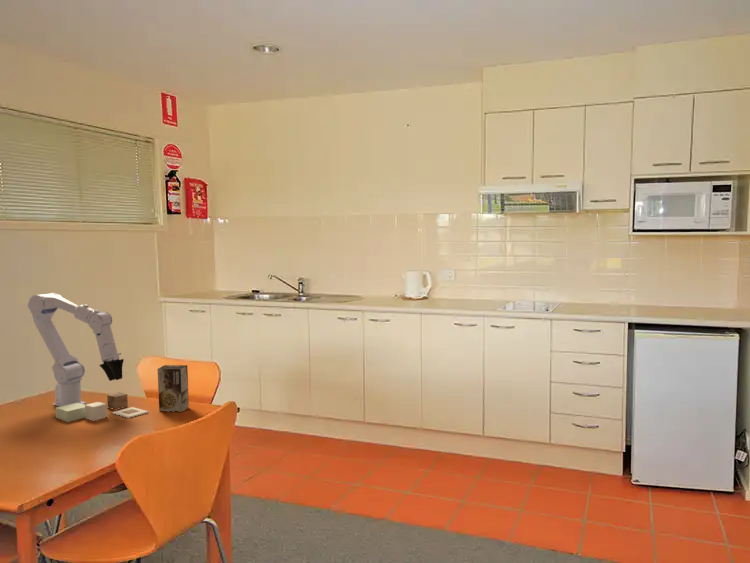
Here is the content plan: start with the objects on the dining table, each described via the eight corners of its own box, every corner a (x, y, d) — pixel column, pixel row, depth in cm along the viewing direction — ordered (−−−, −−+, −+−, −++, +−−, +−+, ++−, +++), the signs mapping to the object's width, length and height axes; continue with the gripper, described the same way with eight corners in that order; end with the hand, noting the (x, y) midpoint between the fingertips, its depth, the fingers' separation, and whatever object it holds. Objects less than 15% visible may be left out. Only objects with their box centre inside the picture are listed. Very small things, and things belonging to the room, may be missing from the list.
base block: (55, 418, 209) (55, 407, 209) (78, 413, 216) (77, 402, 215) (67, 422, 205) (67, 411, 204) (89, 417, 211) (89, 406, 211)
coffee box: (189, 407, 222) (188, 364, 221) (182, 412, 216) (181, 368, 214) (166, 406, 223) (164, 364, 222) (158, 411, 216) (156, 368, 215)
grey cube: (85, 418, 208) (85, 404, 208) (99, 415, 212) (98, 401, 212) (93, 421, 205) (93, 407, 205) (107, 417, 210) (106, 403, 209)
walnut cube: (107, 408, 222) (107, 395, 221) (119, 405, 226) (119, 392, 225) (115, 410, 219) (115, 397, 218) (127, 407, 223) (127, 394, 222)
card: (112, 413, 214) (112, 411, 214) (132, 408, 220) (131, 406, 220) (128, 418, 208) (128, 416, 208) (148, 412, 215) (148, 411, 215)
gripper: (123, 339, 217) (133, 375, 217) (111, 343, 228) (120, 377, 228) (104, 344, 212) (113, 381, 212) (92, 348, 223) (101, 382, 223)
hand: (115, 379), depth 220 cm, fingers open, 7 cm apart
